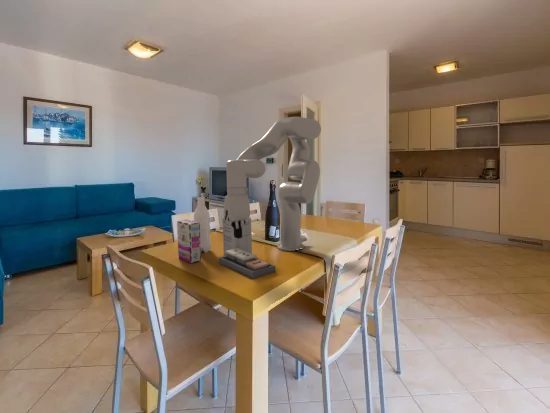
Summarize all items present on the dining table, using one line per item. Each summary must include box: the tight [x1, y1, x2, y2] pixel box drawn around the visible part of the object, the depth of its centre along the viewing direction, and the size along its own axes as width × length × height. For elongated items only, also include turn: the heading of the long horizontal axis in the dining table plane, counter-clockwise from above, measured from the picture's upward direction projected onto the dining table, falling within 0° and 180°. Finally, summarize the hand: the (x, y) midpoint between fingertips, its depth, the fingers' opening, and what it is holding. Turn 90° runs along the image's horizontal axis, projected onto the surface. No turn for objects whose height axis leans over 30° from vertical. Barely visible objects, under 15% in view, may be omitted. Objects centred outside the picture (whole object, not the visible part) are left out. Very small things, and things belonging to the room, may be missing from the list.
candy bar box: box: [176, 219, 202, 264], centre depth 127 cm, size 11×5×16 cm, turn 45°
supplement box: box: [222, 216, 253, 256], centre depth 133 cm, size 10×9×17 cm
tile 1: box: [225, 248, 246, 260], centre depth 123 cm, size 6×6×3 cm
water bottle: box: [193, 196, 212, 253], centre depth 138 cm, size 7×7×25 cm
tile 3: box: [246, 258, 269, 271], centre depth 113 cm, size 6×6×3 cm
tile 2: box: [235, 252, 258, 265], centre depth 118 cm, size 6×6×3 cm
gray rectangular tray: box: [218, 255, 276, 280], centre depth 118 cm, size 11×23×2 cm, turn 41°
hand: (238, 237), depth 120 cm, fingers closed
